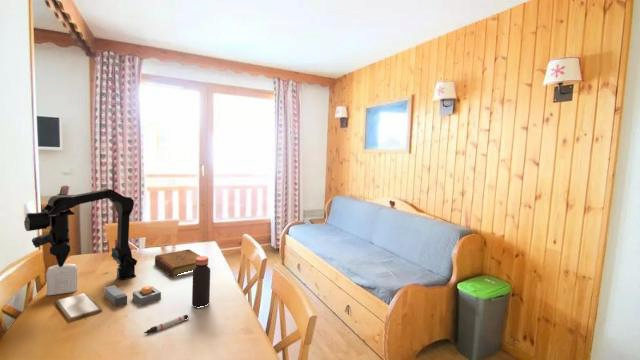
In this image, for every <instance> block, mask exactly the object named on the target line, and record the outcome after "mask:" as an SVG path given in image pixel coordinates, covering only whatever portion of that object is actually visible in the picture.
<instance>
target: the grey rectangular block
mask: <svg viewBox="0 0 640 360" xmlns="http://www.w3.org/2000/svg"><path fill="white" fill-rule="evenodd" d="M104 296H105V298H107V299H108V301H110V302H111V303H112V304H113V305H114V306H115V307H116V308H119V307H122V306H127V305H128V295H127V294H126V293H124V292H123V291H122V290H121V289H120V288H118V287H117V286H116V285H115V284H114V285H110V286H107V287H106V286H104Z"/></svg>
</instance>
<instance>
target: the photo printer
mask: <svg viewBox="0 0 640 360" xmlns="http://www.w3.org/2000/svg"><path fill="white" fill-rule="evenodd" d="M78 273H79V272H78V267H77V264H74V263H64V264H63V266H62V267H59V265H58V264H56V265H51V266H50V267H48V268H47V270H46V296H53V295H54V296H55V295H61V294H63V295H64V294H68V293H70V294H71V293H76V292H77V291H78Z"/></svg>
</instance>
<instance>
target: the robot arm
mask: <svg viewBox="0 0 640 360" xmlns="http://www.w3.org/2000/svg"><path fill="white" fill-rule="evenodd" d="M105 199H107V200H109V201H111V202H112V203H113V204H114V209H115V212H116V213H117V231H116V232H117V235H116V245H115V247H111V254H110V256H111V257H112V260H114V261H115V262H116V263H117V264H118V265H117V268H116V277H117V278H118V279H120V280H121V281H124V280H127V279H132V278H135V277H137V275H136V274H135V273H136V272H135V270H136V269H135V267H136V266H137V264H138V263H137V262H138V260H137V259H135V258H134V257H133V254H132V249H131V248H130V244H129V240H130V217H131V214H132V211H133V209H134V206H135V201H134V199H133V198H131V197H129V196H125V195H122V194H120V193H119V192H116V191H115V190H114V189H111V188H104V189H99V190H94V191H90V192H84V193H80V194H72V195H71V194H63V195H62V194H61V195H53V196H51V197H50V198H49V199H48V201H47V204H45V206H44V207H43V208H42V210H41V212H27V213H26V214H25V215H26V216H25V218H24V222H23V225H24V229H25V231H26V232H32V231H39V230H46V229H47V228H48V227H49V228H50V229H49V232H47V233H43V234H41V235H38V236H34V237H33V238H31V242H32V245H33V246H34V247H35V248H36V249H37V248H39V247H41V246H43V245H47V244H50V246H49V254H51V255H52V256H55V258H56V262H57V265H59V267H62V266H63V264H65V262H66V260H67V258H68V256H69V254H70V252H71V244H70V229H69V228H70V226H69V223H70V222H69V216H73V215H75V212H74V211H72V210H71V209H73V208H75V207H77V206H78V205H82V204H87V203H90V202H91V203H92V202H96V201H100V200H105Z"/></svg>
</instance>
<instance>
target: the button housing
mask: <svg viewBox="0 0 640 360" xmlns="http://www.w3.org/2000/svg"><path fill="white" fill-rule="evenodd" d="M141 290H142V289H139V290H136V291H132V300H133V301H135V302H136V303H137V304H138V305H140V306H143V305H147V304H150V303H153V302H155V301H159V300H161V299H162V292H161V291H160V290H158V289H157V288H155V287H154V286H152V293H151V294H148V295H145V296H143V295H141Z"/></svg>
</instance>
